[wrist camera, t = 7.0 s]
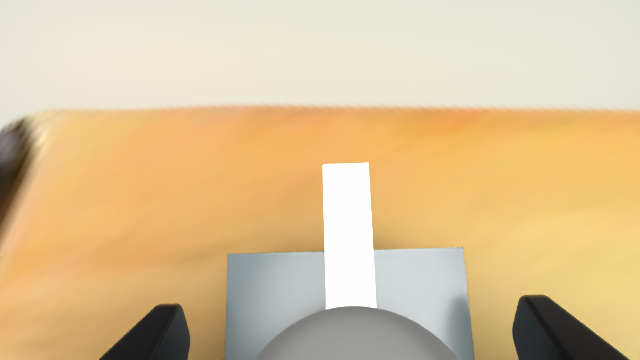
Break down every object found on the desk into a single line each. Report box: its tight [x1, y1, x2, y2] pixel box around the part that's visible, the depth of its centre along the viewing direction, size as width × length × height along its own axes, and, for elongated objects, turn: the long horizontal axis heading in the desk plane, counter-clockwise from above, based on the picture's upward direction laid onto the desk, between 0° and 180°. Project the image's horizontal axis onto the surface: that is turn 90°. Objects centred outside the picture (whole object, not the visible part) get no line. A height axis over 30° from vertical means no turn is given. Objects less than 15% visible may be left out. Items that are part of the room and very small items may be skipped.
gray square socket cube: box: [225, 247, 474, 360], centre depth 13 cm, size 6×6×6 cm
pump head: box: [255, 163, 459, 360], centre depth 10 cm, size 5×3×9 cm, turn 1°
